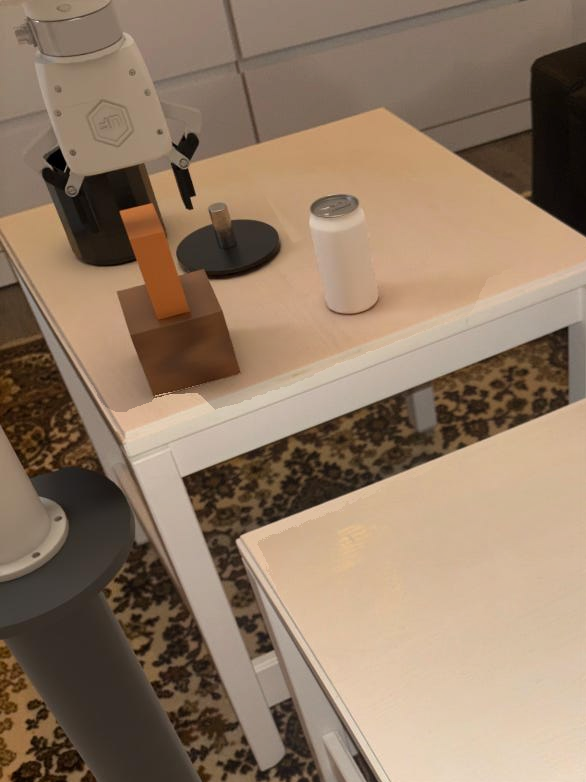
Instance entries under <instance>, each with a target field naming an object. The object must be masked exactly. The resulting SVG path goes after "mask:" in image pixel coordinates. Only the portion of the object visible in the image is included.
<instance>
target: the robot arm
mask: <svg viewBox="0 0 586 782" xmlns="http://www.w3.org/2000/svg"><path fill="white" fill-rule="evenodd" d="M18 5H21V6H22V9H23V11H24V14H25V16H26V18H24V19H23V20H24V23H21V24H20V25H19V26H14V27H12V29H13V32H14V35H15V37H16V40H17V42H18V44H19V45H21V46H22V45H25V44H28V45H29V46H30V45H33V47H34V48H37V49H38V50H37V51H36V52H35V53H34V58H33V60H34V67H35V72H36V76H37V81H38V85H39V88H40V92H41V95H42V99H43V103H44V106H45V109H46V111H47V114H48V117H49V120H50V123H48V125H46V126H45V128H43V130H41V131H40V132H39V133H38V134H37V135H36V136H35V137H34V138H33V139H32V140H31V141H30V142H29V143H28V144H27V145H26V146H25V147H24V148H22V150H21V154H22V159H23V161H24V162H25V163H26V164H27V165H28V166H29V167H30V168H31V169H32V170H34V171H35V172H36V174H37V175H39V176H40V177H41V178H42V179H43V181H44V180H45V181H46V182H48V183H49V184H51V185H53V186H55V187H57V188H59V189H61V190H63V191H64V192H66V194H67V195H68V196H71V198H72V200H73V203H74V206H75V208H76V211H77V213H78V216H79V218H80V221H81V223H82V225H83V224H87V223H89V225H90V227H91V230H92V232H93V235H94V234H98V232H100V230H99V227H98V224H97V221H96V218H95V215H94V213H93V210H92V208H91V205H90V202H89V200H88V197H87V195H86V192H85V189H84V187H83V185H81V184H82V181H83V179H84V176H89V175H95V174H100V173H105V172H109V171H113V170H117V169H121V168H125V167H130V166H134V165H138V164H142V163H149V162H153V161H157V160H160V159H162V158H165V159H167V160H168V161H170V166H171V170H172V173H173V176H174V179H175V183H176V186H177V189H178V192H179V196H180V198H181V201H182V203H183V205H184V207H185V210H188V211H192V210H194V206H193V202H192V199H191V198H194V197H197V193H196V190H195V186H194V184H193V179H192V175H191V173H190V169H189V167H190V165H191V160H192V158H193V156H194V155H195V153H196V151H197V149H198V147H199V145H200V136H201V133H202V127H203V122H204V117H203V114H202V113H201V111H200V110H199V109H198V108H196V107H192V106H189V105H185V104H182V103H178V102H174V101H172V100H167V99H164V98H160V97H159V96H158V94H157V93H158V92H157V90H156V88H155V85H154V82H153V80H152V77H151V74H150V72H149V69H148V67H147V65H146V62H145V60H144V57H143V55H142V53H141V51H140V49H139V47H138V45H137V43H136V41H135V40H134V38H133V37H132V35H130V34H129V33H127V32H124V31H123V29H122V26H121V23H120V19H119V16H118V13H117V9H116V7H115V4H114V0H0V6H7V7H8V6H18ZM166 118H167V119H171V120H175V121H178V122H181V123H185V129H184V133H183V134H182V136H181V138H180V139H179V142H178V143H176V142H175V141H174V140H172V137H171V132H170V129H169V126H168V122H167V119H166ZM57 144H58V146H60V149H61V151H62V154H63V156H64V158H65V160H66V163H67V165H66V168H65V171H64V172H63V171H61V170H59V169H57V168H56V167H54V166H52V165H50V164H48V163H47V162H46V160H45V159H44V158H43V156H44V155H45V154H46V153H48V152H49V151H51V150H52V149H53V148H54V147H55V146H56V145H57ZM45 181H44V182H45ZM29 478H30V477H29V476H28V474H27V472H26V470H25V468H24V466H23V464H22V462H21V461H20V458H19V457H18V455H17V453H16V452H15V449H14V447H13V446H12V444H11V442H10V440H9V438H8V437H7V435H6V433H5V431H4V429H3V427H2V425H1V424H0V582H5V581H10V580H13V579H16V578H19V577H22V576H24V575H26V574H29V573H31V572H33V571H34V570H36V569H38V568H40V567H41V566H43V565H44V564H45V563H47V562H48V561H49V560H51V559H52V558H53V557H54V556H55V555H56V554H57V553H58V551H59V550H60V549H61V547H62V546H63V545H64V543H65V541H66V539H67V536H68V532H69V521H68V519H67V517H66V514H65V512H64V511H63V509H62V508H61V506H59V505H58V504H57V503H56V502H54V501H52V500H50V499H47V498H43V497H39V496H38V494H37V492H36V490H35V489H34V487H33V485H32V483H31V481H30V479H29Z"/></svg>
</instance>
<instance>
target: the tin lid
mask: <svg viewBox="0 0 586 782" xmlns="http://www.w3.org/2000/svg"><path fill="white" fill-rule="evenodd" d="M207 211H208V214H209V217H210V220H211V223H210V224H207V225H205V226H202V227H199V228H198V229H196V230H194V231H192V232H190V233H189V234H188V235H186V236H185V237H184V238H183V239H182V240H181V241H180V242H179V243H178V245H177V247H176V250H175V253H176V259H177V262H178V263H179V265H180V266H181V267H182V268H184V269H185V270H187V271H189V272H194V271H198V270H202V269H204V270H205V272H206V275H207V276H208V275H210V276H219V275H229V274H234V273H240V272H242V271H246V270H249V269H252V268H255V267H257V266H259V265H261V264H263V263H265V262H266V261H268V260H269V259H270V258H271V257H273V256H274V254H276V252H277V250H278V249H279V247H280V244H281V243H280V242H281V240H280V234H279V232H278V231H277V228H276V227H274V226H272V225H271V224H270V223H266V222H265V221H261V220H256V219H248V218H247V219H245V218H244V219H243V218H241V219H231V216H230V212H229V209H228V205H227V204H226V203H225V202H214V203H211V204H210V205H209V206H208V207H207Z"/></svg>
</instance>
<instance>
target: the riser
mask: <svg viewBox="0 0 586 782" xmlns="http://www.w3.org/2000/svg"><path fill="white" fill-rule="evenodd" d="M178 276H179V279H180V282H181V285H182V288H183V291H184V295H185V298H186V301H187V304H188V307H189V310H190V312H186V313H183V314H179V315H175V316H171V317H168V318H164V319H160V320H158V319H157V316H156V313H155V310H154V308H153V305H152V302H151V299H150V296H149V293H148V291H147V288H146V285H145V283H144V284H140V285H136V286H133V287H129V288H125V289H121V290H117V291H116V295H117V298H118V301H119V305H120V307H121V311H122V315H123V317H124V320H125V325H126V327H127V330H128V333H129V336H130V339H131V342H132V345H133V347H134V350H135V352H136V355H137V357H138V360H139V363H140V365H141V368H142V371H143V373H144V376H145V378H146V381H147V383H148V387H149V389H150V392H151V395H152V396H155V395H159V394H163V393H168V392H173V391H177V390H180V391H182V390H181V389H184V390H186V389H185V388H188V387H191V388H193V387H192V386H195V387H197V386H196V385H198V386H201V385H200V384H202V385H205V384H208V383H207V382H209V383H212V382H215V380H216V381H218V379H219V380H222V379H221V378H223V379H226V378H229V377H232V375H233V376H236V375H239V373H240V374H241V373H242V372H241V368H240V365H239V362H238V358H237V355H236V351H235V349H234V344H233V341H232V339H231V334H230V331H229V328H228V325H227V322H226V321H227V320H226V318H225V315H224V312H223V308H222V306H221V304H220V302H219V300H218V297H217V295H216V293H215V290H214V289H213V286H212V283H211V282H210V279H209V277H208V275H206V272H205V270H204V269H202V270H198V271H194V272H191V271H189V272H187V273H182V274H178ZM211 381H212V382H211ZM204 383H205V384H204ZM188 389H189V388H188ZM177 392H178V391H177ZM173 393H174V392H173Z"/></svg>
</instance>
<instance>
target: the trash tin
mask: <svg viewBox="0 0 586 782" xmlns="http://www.w3.org/2000/svg"><path fill="white" fill-rule="evenodd" d="M43 158H44V159H45V160H46V162H47V163H48V164H50V165H52V166H54V167H56V168H57V169H59V170H61V171H63V172H64V171H65V168H66V165H67V163H66V160H65V158H64V156H63V154H62V151H61V149H60V146H59V145H58V146H54V147H53V148H51V149H50V150H49V151H48V152H47V153H46V154H45V155H44V156H43ZM43 181H44V183H45V186H46V189H47V191H48V193H49V195H50V198H51V200H52V203H53V206H54V208H55V210H56V213H57V215H58V218H59V220H60V223H61V225H62V228H63V230H64V233H65V235H66V237H67V240H68V243H69V245H70V248H71V250H72V253H73V254H74V256H75V257H76V259H78V260H79V261H82V262H83V263H87V264H90V265H97V266H98V265H99V266H100V265H101V266H104V265H106V266H108V265H118V264H123V263H128V262H130V261H133V260H134V261H135V260H136V257H135V254H134V251H133V248H132V245H131V243H130V240H129V237H128V234H127V231H126V228H125V226H124V223H123V220H122V217H121V214H120V211H122V210H126V209H130V208H134V207H138V206H143V205H147V204H151V203H153V206H154V208H155V211H156V213H157V215H158V218H159V220H160V223H161V225H162V228H163V230H164V233H165V236H166V237H167V229H166V226H165V222H164V219H163V217H162V213H161V210H160V207H159V204H158V201H157V197H156V195H155V192H154V188H153V185H152V182H151V179H150V176H149V173H148V169H147V167H146V164H145V163H142V164H138V165H134V166H130V167H125V168H121V169H117V170H113V171H109V172H105V173H100V174H95V175H89V176H84V179H83V181H82V184H81V185H83V187H84V189H85V192H86V195H87V197H88V200H89V202H90V205H91V208H92V210H93V213H94V215H95V218H96V221H97V224H98V227H99V230H100V232H98V234H94V235H93V232H92V230H91V227H90V225H89V223H87V224H83V225H82V223H81V221H80V218H79V216H78V213H77V211H76V208H75V206H74V203H73V200H72V198H71V196H68V195H67V194H66V192H64V191H63V190H61V189H59V188H57V187H55V186H53V185H51V184H49V183H48V182H46V181H45V180H44V179H43Z"/></svg>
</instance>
